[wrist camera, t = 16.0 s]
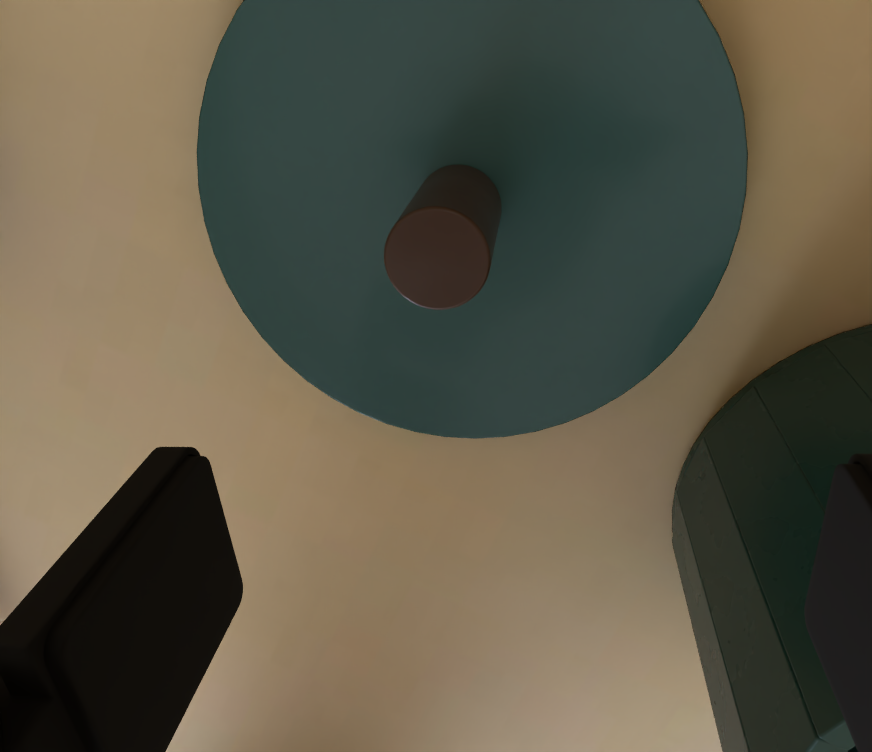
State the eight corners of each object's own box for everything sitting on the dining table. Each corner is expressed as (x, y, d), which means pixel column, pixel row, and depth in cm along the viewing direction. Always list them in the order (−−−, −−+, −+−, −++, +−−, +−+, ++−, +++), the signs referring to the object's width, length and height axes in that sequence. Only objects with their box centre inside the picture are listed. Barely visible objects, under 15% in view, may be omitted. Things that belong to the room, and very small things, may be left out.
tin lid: (265, 423, 29) (196, 527, 24) (152, -78, 21) (4, -111, 16) (711, 421, 27) (760, 538, 21) (773, -156, 19) (879, -232, 13)
